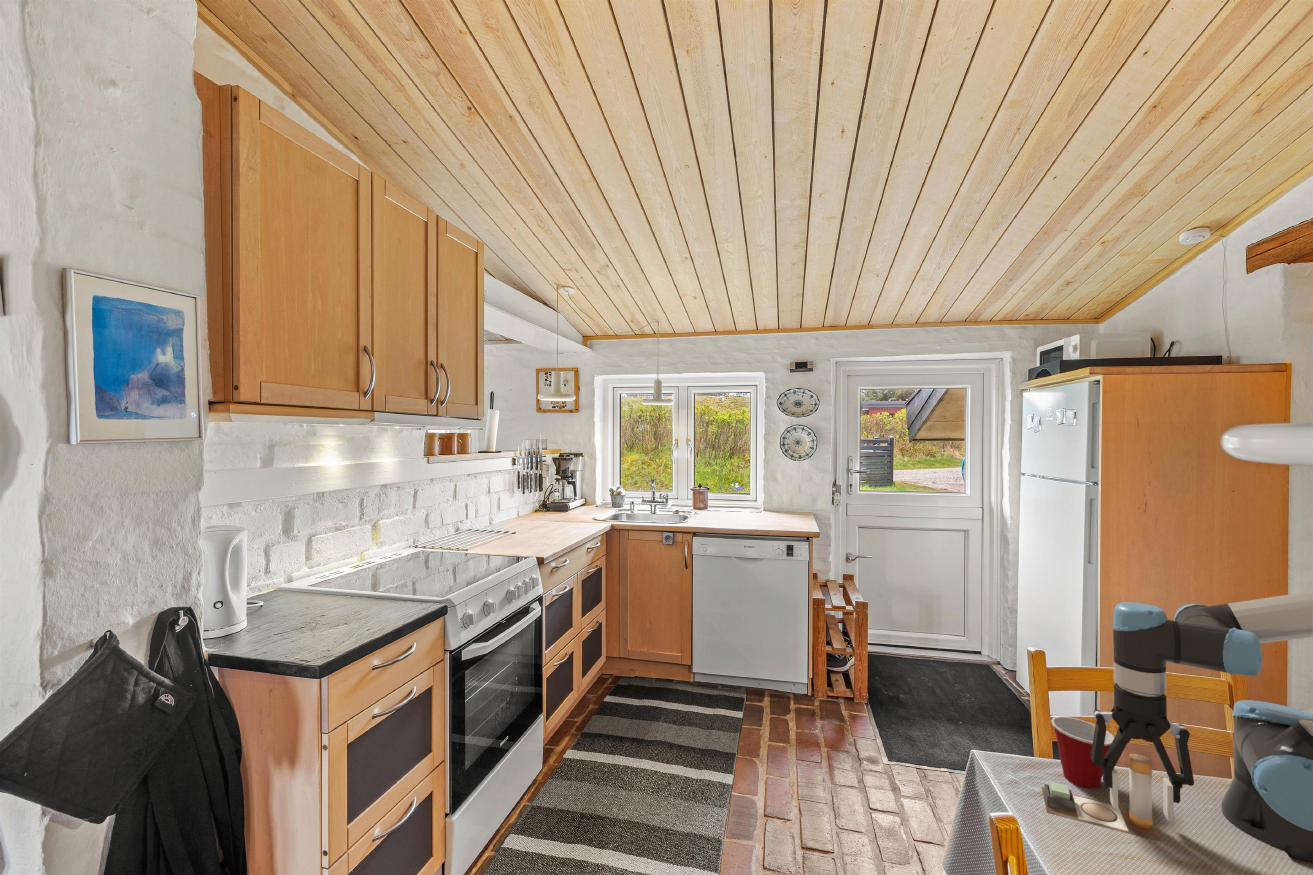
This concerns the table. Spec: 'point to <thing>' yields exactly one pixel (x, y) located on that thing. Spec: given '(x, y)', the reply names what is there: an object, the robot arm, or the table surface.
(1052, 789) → the button
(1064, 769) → the plastic cup
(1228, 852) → the table surface
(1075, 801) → the board
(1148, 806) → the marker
